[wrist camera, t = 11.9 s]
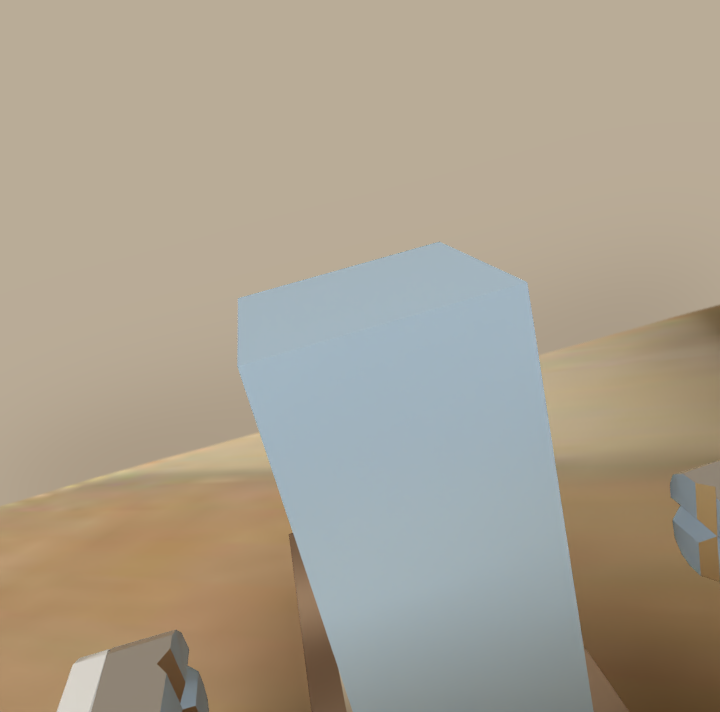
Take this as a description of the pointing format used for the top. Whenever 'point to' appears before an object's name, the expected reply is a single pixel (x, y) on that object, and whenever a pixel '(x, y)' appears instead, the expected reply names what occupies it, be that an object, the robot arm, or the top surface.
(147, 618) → the top surface
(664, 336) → the top surface
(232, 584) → the top surface
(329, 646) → the plinth
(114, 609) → the top surface
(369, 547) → the post
